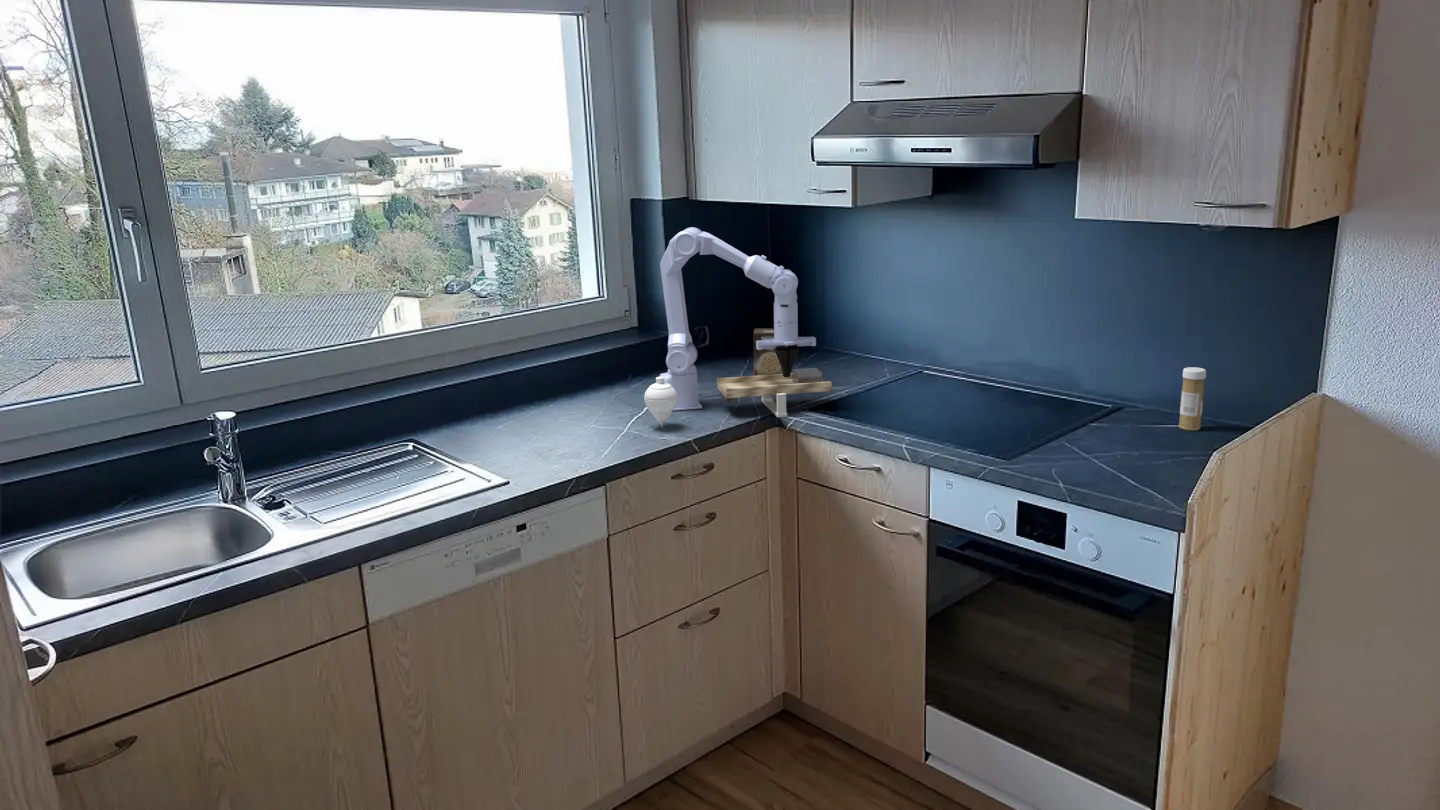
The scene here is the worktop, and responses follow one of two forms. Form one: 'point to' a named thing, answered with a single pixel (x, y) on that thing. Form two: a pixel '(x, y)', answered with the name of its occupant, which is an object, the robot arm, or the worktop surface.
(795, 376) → the block
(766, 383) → the balance beam
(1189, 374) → the sprinkles bottle
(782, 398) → the pivot stand
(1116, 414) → the worktop surface
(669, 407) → the spinning top
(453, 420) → the worktop surface
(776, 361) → the coffee box
